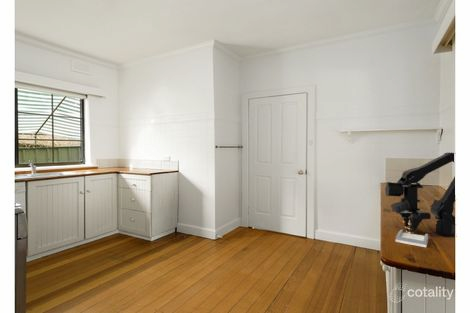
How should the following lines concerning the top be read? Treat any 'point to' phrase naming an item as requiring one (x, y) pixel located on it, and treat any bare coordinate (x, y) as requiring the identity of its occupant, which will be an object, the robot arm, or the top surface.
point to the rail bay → (412, 239)
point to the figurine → (408, 224)
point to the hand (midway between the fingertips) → (410, 229)
